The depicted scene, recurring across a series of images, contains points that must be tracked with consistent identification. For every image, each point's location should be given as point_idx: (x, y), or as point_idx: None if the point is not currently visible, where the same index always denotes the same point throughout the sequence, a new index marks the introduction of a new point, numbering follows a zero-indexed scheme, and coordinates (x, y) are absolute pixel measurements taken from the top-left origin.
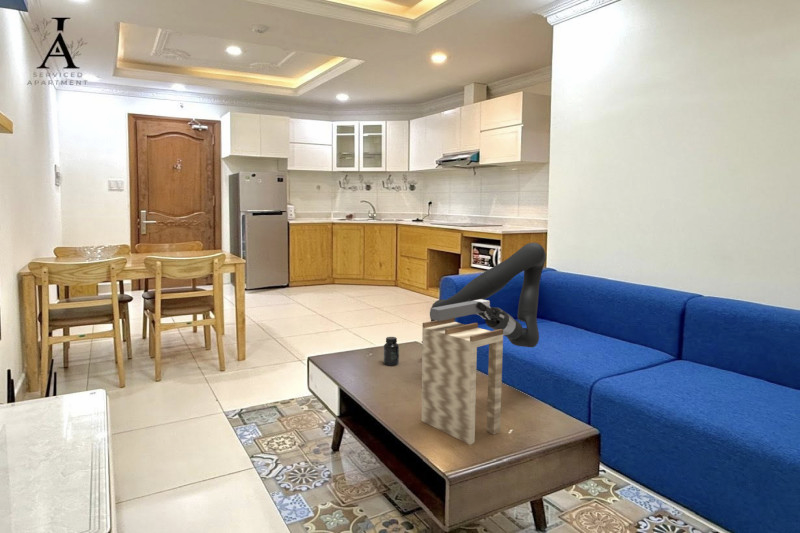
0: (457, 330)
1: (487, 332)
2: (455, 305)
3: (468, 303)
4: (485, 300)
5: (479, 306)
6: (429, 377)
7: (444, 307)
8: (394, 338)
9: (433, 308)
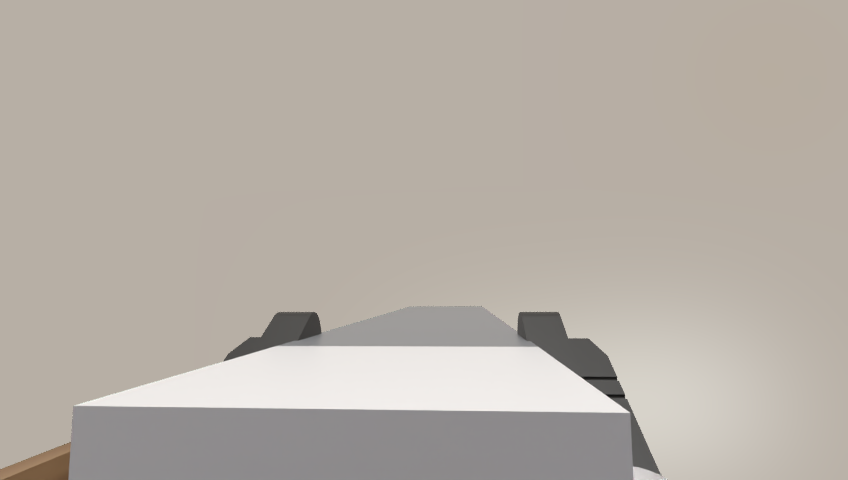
0: None
1: (69, 448)
2: (434, 313)
3: (406, 324)
4: (283, 388)
5: None
6: None
7: (441, 309)
8: None
9: (463, 306)
